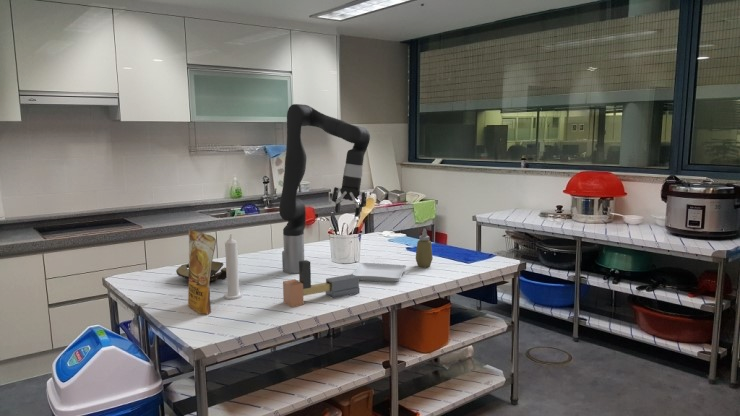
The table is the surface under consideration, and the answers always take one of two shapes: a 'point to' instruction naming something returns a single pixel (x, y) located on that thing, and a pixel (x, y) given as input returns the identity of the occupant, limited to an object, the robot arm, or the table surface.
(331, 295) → the sleeve
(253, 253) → the table surface
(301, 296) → the orange brown block
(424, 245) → the squeeze bottle
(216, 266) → the oil lamp
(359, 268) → the salad plate
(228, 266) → the candle
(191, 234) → the pancake mix bag
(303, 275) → the bolt
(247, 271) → the table surface
